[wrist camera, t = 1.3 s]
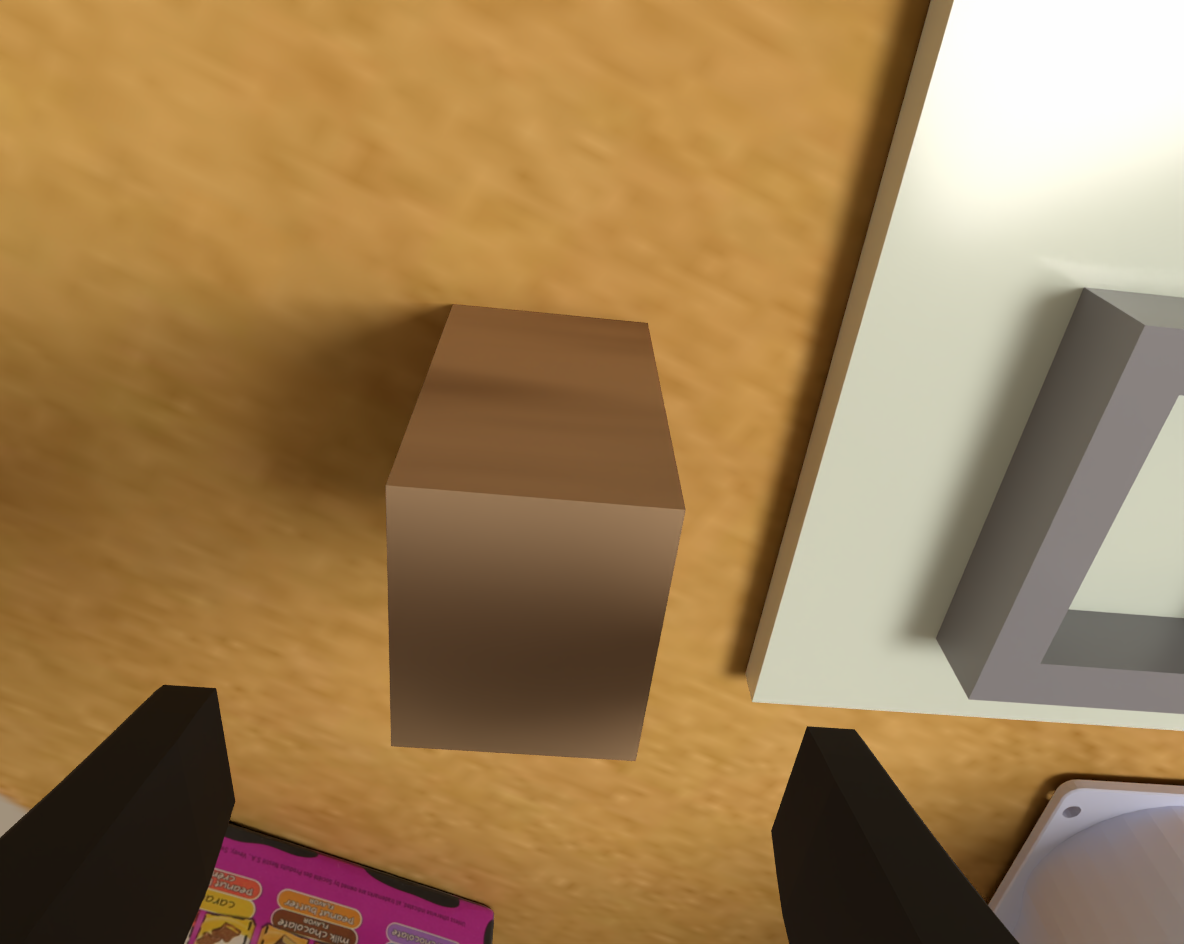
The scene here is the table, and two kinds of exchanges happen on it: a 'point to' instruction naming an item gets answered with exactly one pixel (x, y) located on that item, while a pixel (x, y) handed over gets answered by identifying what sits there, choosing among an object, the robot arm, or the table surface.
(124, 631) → the table surface
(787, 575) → the board with square socket
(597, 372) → the brown wooden block
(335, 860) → the candy bar box
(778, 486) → the table surface
